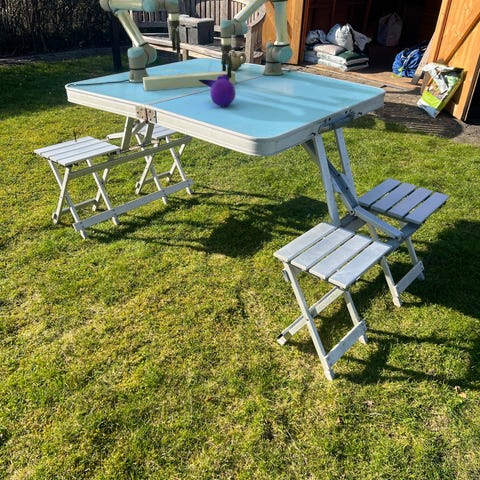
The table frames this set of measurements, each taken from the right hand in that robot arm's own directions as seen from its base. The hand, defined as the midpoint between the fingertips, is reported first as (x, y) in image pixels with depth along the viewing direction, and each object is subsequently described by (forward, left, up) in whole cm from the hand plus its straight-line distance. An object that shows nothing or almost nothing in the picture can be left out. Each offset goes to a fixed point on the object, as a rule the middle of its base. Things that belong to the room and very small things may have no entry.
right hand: (226, 76), depth 326 cm
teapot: (-38, -35, -5) cm, 52 cm away
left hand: (+18, -36, +15) cm, 43 cm away
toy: (+44, +46, -5) cm, 64 cm away
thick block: (+25, -11, -5) cm, 28 cm away
